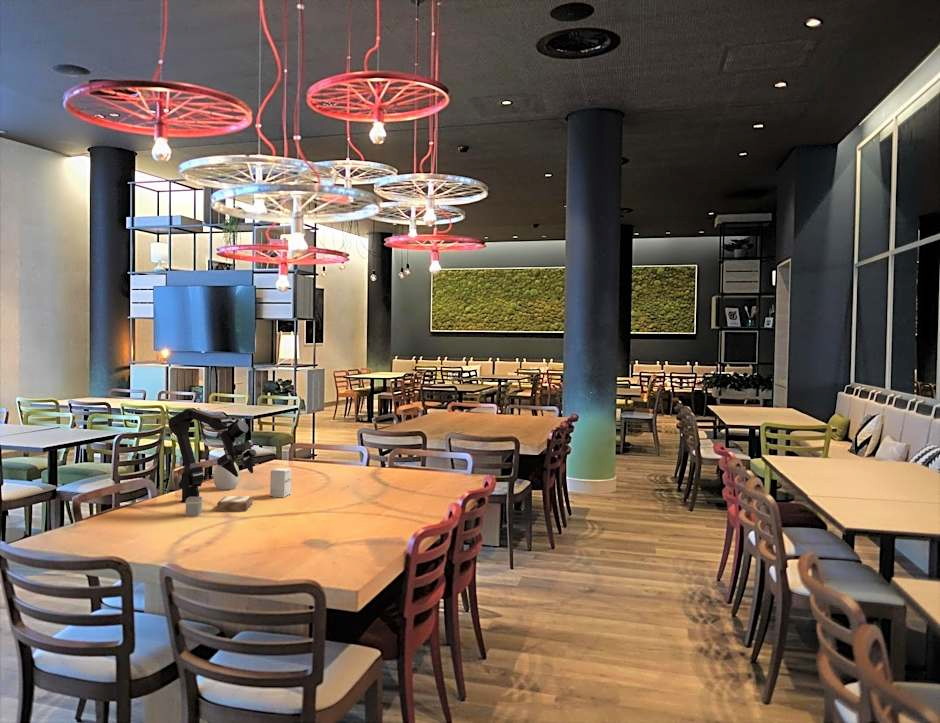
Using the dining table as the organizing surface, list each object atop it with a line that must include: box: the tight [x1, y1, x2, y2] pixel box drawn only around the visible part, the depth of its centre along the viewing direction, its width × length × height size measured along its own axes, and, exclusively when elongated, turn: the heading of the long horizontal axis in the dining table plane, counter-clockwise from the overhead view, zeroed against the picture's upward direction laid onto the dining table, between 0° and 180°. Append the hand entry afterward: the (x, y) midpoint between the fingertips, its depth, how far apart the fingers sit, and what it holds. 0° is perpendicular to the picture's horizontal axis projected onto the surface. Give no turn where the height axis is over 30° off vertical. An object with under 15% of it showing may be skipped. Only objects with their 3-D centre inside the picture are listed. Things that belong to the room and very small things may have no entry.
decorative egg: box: [212, 461, 241, 491], centre depth 345 cm, size 12×12×15 cm
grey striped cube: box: [185, 496, 203, 517], centre depth 292 cm, size 5×5×7 cm
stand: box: [216, 495, 253, 512], centre depth 305 cm, size 12×12×4 cm
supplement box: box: [269, 467, 292, 498], centre depth 331 cm, size 7×7×13 cm
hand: (244, 474), depth 303 cm, fingers open, 9 cm apart
